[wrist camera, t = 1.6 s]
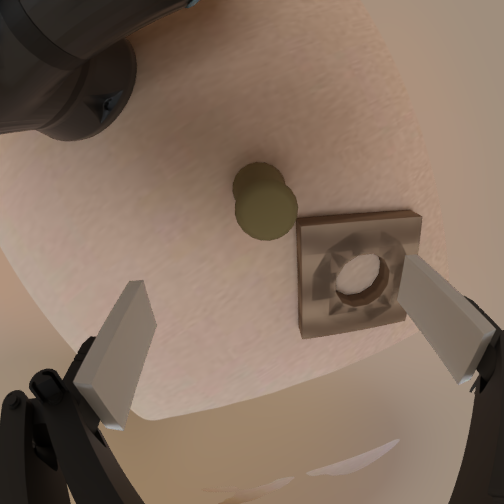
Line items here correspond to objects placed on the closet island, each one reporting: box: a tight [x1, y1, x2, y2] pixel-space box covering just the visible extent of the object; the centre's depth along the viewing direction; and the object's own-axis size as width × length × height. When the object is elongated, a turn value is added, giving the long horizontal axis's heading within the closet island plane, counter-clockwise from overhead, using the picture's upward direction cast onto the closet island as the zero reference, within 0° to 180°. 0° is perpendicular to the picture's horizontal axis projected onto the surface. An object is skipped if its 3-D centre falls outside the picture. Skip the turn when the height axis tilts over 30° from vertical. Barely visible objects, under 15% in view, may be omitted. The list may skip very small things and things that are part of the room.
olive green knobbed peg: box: [233, 162, 298, 241], centre depth 27 cm, size 6×6×11 cm
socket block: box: [296, 210, 422, 339], centre depth 35 cm, size 16×16×3 cm
